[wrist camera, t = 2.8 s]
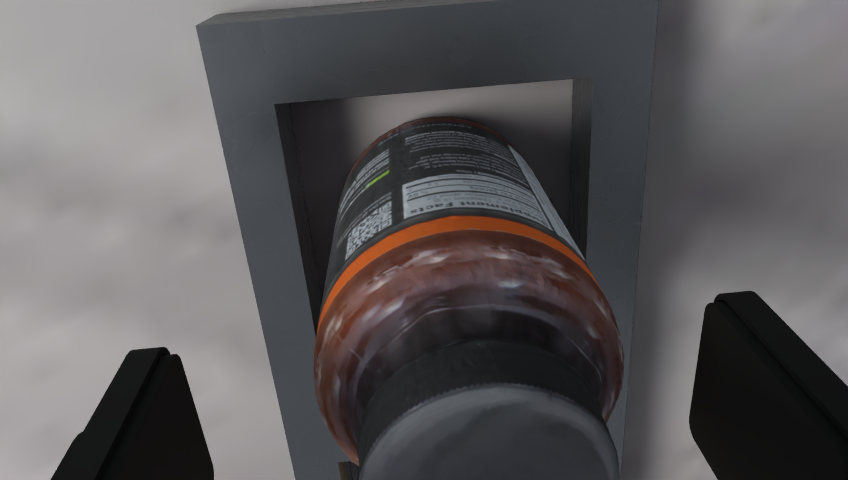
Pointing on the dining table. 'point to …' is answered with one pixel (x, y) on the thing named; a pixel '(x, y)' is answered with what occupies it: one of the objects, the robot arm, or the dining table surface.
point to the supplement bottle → (462, 319)
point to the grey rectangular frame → (416, 72)
